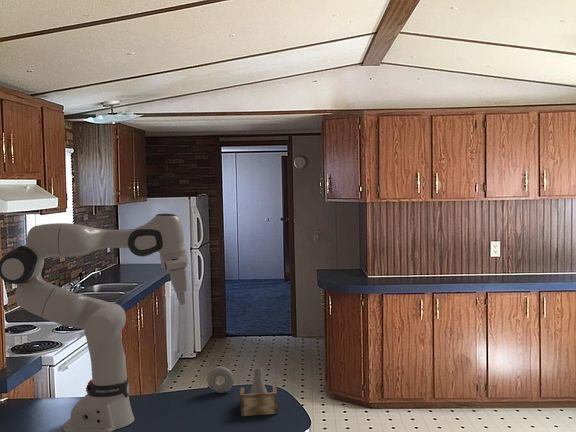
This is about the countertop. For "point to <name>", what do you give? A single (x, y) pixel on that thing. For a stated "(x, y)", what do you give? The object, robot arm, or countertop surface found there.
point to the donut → (214, 384)
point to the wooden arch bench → (258, 403)
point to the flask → (258, 383)
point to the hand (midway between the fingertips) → (181, 301)
